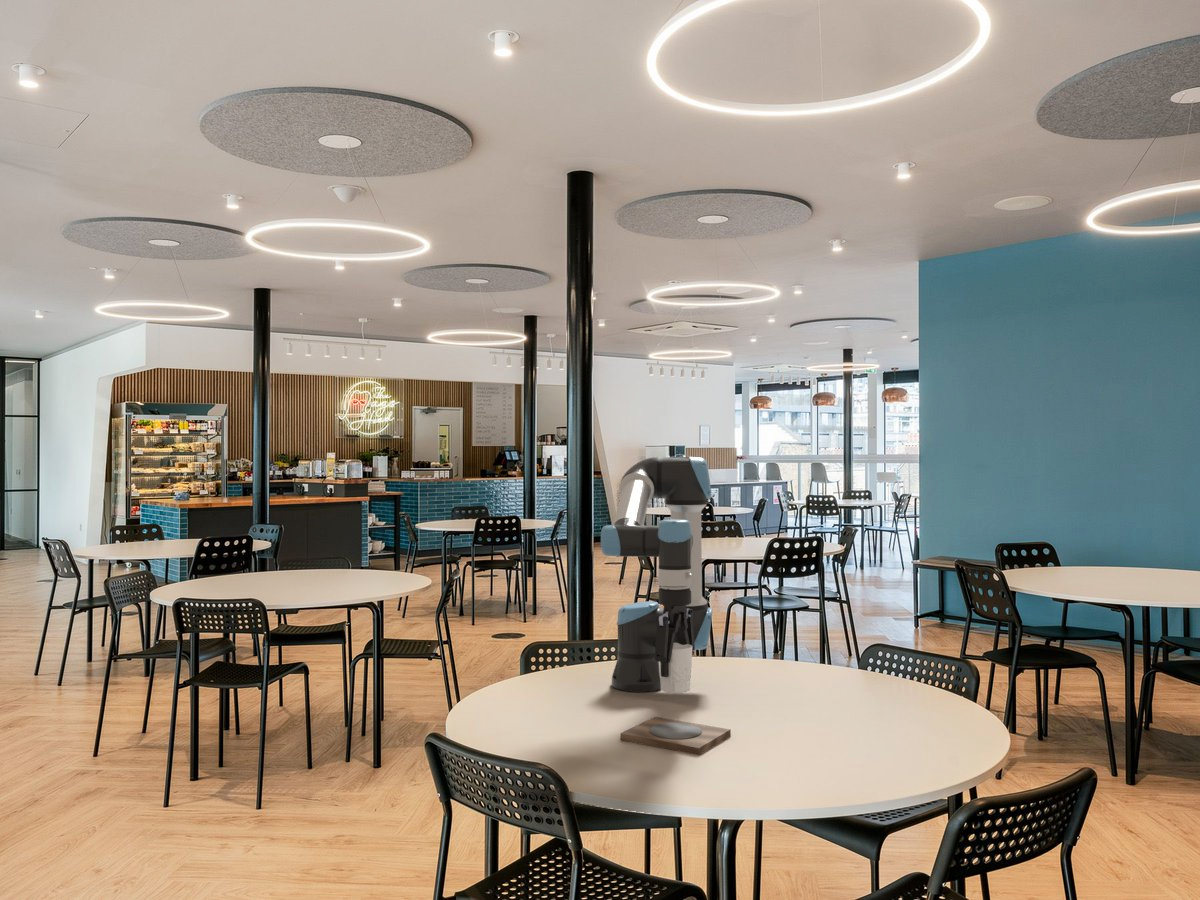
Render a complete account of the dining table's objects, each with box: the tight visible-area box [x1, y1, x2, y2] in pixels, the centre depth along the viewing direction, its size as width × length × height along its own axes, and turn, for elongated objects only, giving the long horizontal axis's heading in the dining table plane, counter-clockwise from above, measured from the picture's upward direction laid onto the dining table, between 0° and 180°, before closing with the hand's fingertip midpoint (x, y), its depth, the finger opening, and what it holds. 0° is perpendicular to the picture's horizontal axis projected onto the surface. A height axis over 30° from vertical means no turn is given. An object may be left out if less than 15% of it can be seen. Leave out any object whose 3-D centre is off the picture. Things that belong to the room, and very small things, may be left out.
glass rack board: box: [619, 716, 732, 756], centre depth 205 cm, size 16×20×2 cm
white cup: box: [659, 643, 693, 694], centre depth 205 cm, size 8×8×10 cm
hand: (675, 686), depth 205 cm, fingers closed on white cup, 8 cm apart
